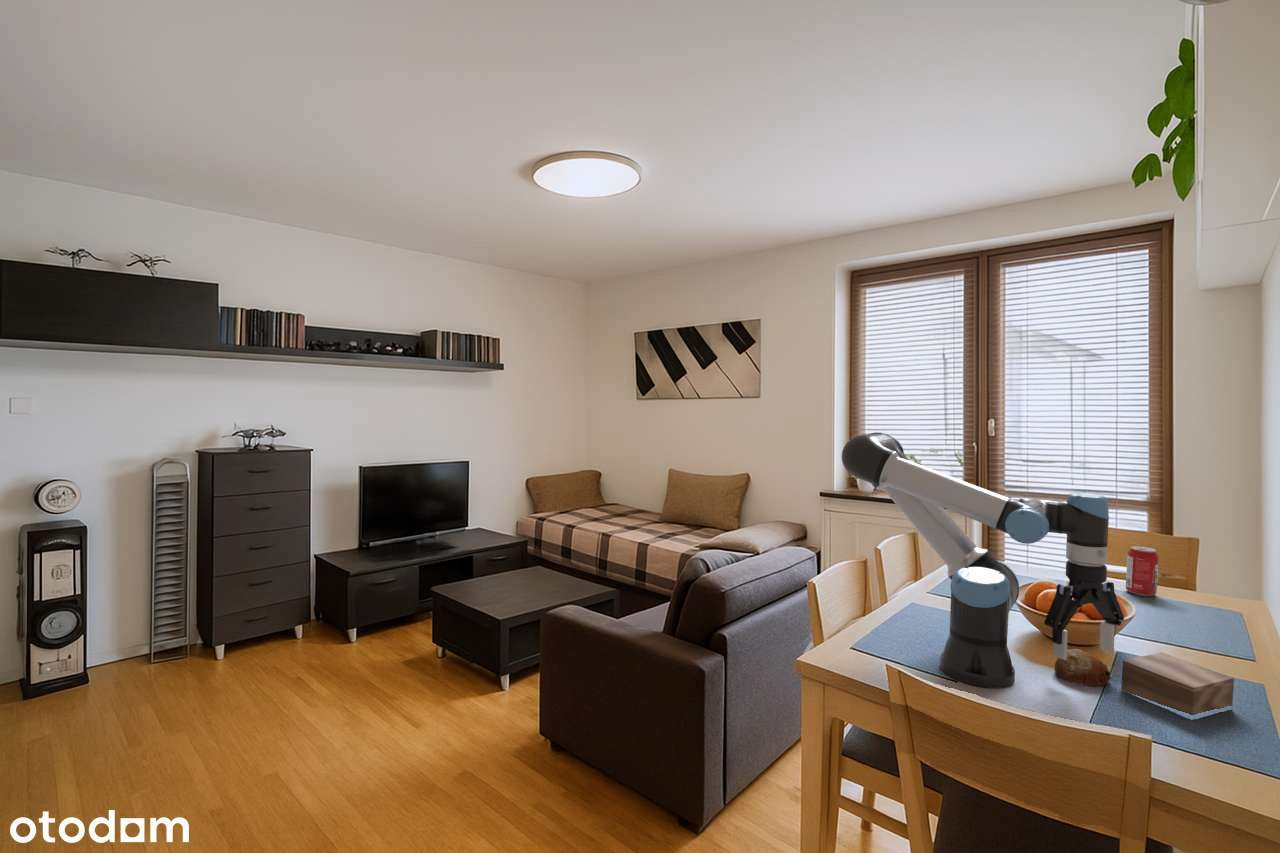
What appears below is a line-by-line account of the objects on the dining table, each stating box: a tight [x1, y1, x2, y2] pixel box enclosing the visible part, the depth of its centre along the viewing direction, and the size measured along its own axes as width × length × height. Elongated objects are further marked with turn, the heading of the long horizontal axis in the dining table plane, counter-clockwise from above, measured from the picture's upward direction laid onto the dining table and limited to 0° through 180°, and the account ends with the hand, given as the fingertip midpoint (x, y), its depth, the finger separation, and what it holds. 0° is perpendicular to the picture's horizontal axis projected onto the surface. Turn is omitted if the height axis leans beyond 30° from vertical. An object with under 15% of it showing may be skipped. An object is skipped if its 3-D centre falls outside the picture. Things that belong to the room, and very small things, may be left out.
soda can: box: [1125, 545, 1160, 597], centre depth 198 cm, size 8×8×15 cm
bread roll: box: [1054, 648, 1111, 688], centre depth 139 cm, size 10×10×8 cm
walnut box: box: [1120, 652, 1235, 715], centre depth 128 cm, size 13×13×7 cm
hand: (1083, 654), depth 138 cm, fingers open, 13 cm apart
